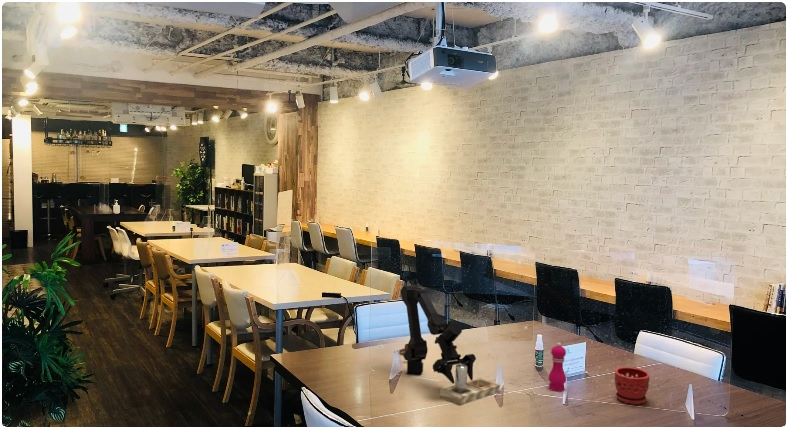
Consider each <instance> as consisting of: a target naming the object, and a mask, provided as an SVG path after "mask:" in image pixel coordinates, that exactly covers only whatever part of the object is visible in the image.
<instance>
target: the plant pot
mask: <svg viewBox="0 0 787 427" xmlns="http://www.w3.org/2000/svg"><path fill="white" fill-rule="evenodd" d="M627 374H628V375H627ZM649 384H650V374H649V372H647V371H646V370H643V369H641V368H638V367H637V368H636V367H627V366H623V367H618V368H617V369H615V371H614V386H615V389H616V391H617V392H615V396H616V399H618V400H619V401H620V402H622V401H623V403H625V404H628V403H630V405H641V403H642V404H644V403H646V401H647V396H646V395H647V393H648V391H649V390H648V389H649Z"/></svg>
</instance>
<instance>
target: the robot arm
mask: <svg viewBox="0 0 787 427" xmlns="http://www.w3.org/2000/svg"><path fill="white" fill-rule="evenodd" d="M399 293H400V296H401V300H402V302H403V303H404V305H405V306H406V314H407V321H408V328H409V329H408V330H409V340H408V343H407V344H408V350H407V351H404V353H403V354H404V356H403V360H405V361H407V363H406V365H407V366H406V372H405V374H406V375H413V376H421V375H422V374H423V372H424V362H423V360H424V361H425V360H426V358H427V355H428V351H429V348H428V345H427V344H428V343H427V340H426V339H425V340H424V338H423V337H422V332H421V324H420V323H421V322H420V316H419V307H418V304H419V306H420V307H421V309H422V311H423V313H424V316H425V318H426V319H427V324H426V325H427V328H428V331H429V332H430V334H431V335H433V336H436V335H438V336H436V337H435V340H434V344H435V345H436V344H438V347H439V348H440V351H441V352H440V357H441V358H438V359H437V360H435V361H434V362H433V365H432V369H433V372H434V373H436V372H437V374H442V375H443V376H444V377H446V379H447V380H449V382H450V383H451V384H453V385H455V378H454V375H453V371H452V369H453V366H456V365H458V364H463V365H466V366H467V377H468V378H469V381H471V380H474V375H473V372H474V370H473V368H474V363H475V361H476V360H477V358H476V356H475V354H474V353H469V354H468V353H467V354H465V355H464V356H463V357H462V355H461V353H458V351H457V349H458V346H457V345H454V341H456V340H457V339H458V337H459V336H460V335H461V334H462V332H463V329H462V327H461V325H460V324H458V323H455V321H454V320H449V321H448V323H447V321H446V319H445V318H444V317H443V316H441V314H439V313H438V312H437V309H436V308H435V306H434V303H432V300H431V298H430V297H429V295H428V291H427V289H425V288H423V287H419V286H417V285H416V284H412V285H403V286H402V287H401V289H400V292H399ZM461 357H462V358H461Z"/></svg>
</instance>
